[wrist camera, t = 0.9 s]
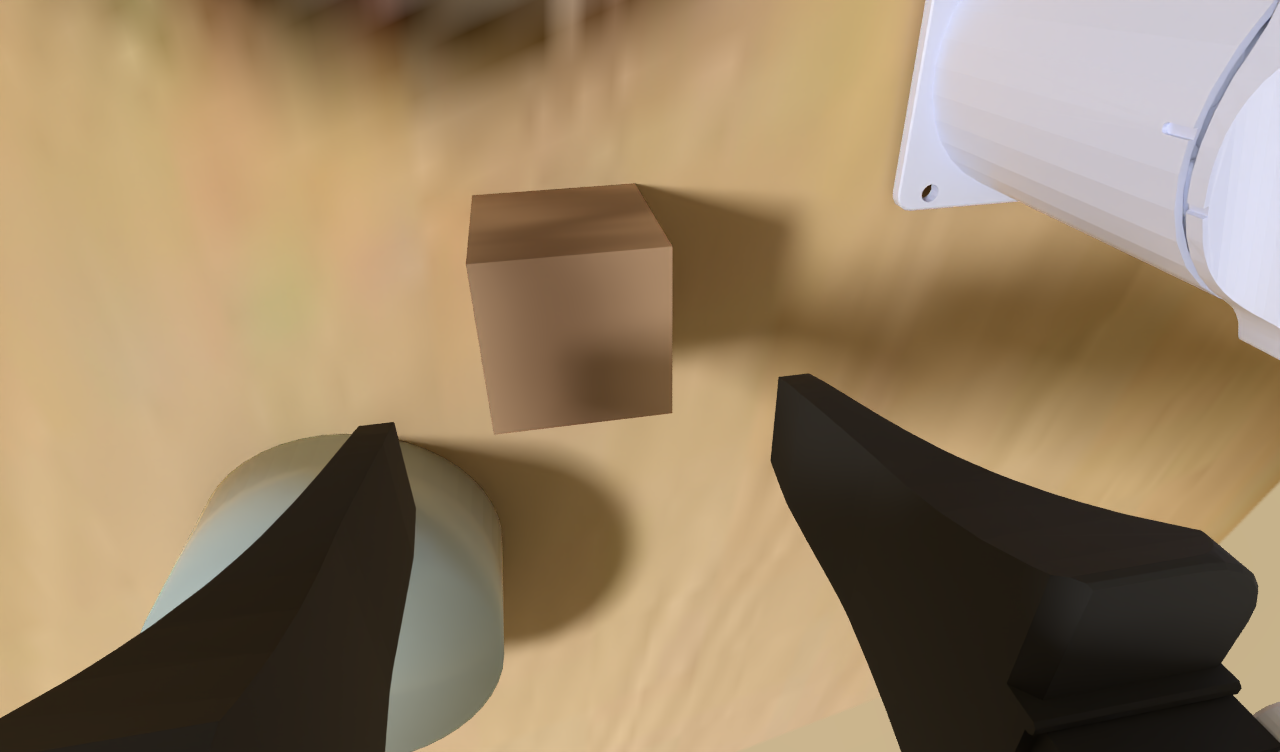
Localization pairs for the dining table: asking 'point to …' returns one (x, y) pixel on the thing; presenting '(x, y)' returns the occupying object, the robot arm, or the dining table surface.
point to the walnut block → (571, 306)
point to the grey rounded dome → (438, 588)
